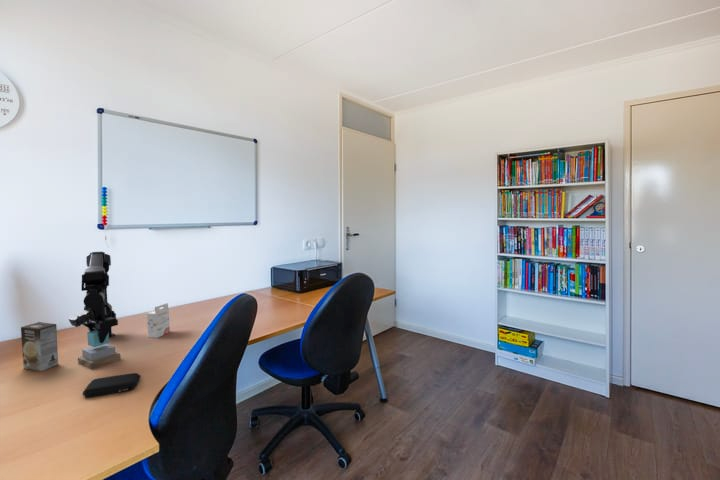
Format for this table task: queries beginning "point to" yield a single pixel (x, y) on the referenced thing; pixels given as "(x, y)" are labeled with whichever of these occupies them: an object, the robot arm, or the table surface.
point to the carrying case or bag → (112, 385)
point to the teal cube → (96, 339)
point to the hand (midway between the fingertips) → (98, 341)
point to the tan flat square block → (98, 361)
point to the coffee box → (39, 346)
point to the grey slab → (98, 352)
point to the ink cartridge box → (158, 321)
